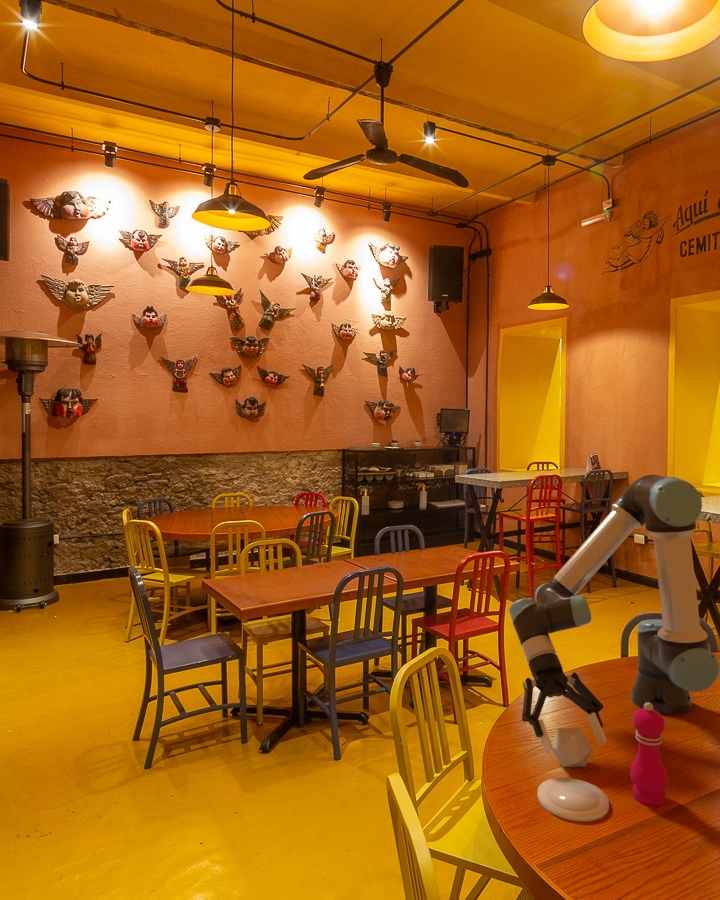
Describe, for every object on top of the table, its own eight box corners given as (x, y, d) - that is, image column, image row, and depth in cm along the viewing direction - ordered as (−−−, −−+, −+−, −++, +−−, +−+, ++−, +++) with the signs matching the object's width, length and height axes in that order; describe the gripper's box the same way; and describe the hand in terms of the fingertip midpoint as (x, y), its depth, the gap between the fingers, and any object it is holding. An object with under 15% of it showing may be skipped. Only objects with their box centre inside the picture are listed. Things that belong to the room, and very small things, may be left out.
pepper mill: (666, 811, 125) (665, 713, 125) (627, 800, 129) (626, 705, 129) (670, 793, 131) (669, 699, 131) (633, 784, 135) (632, 692, 135)
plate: (582, 778, 138) (582, 772, 138) (623, 815, 124) (623, 809, 124) (525, 787, 135) (525, 782, 135) (560, 826, 121) (560, 821, 121)
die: (586, 781, 138) (603, 739, 141) (551, 759, 139) (568, 718, 142) (574, 775, 146) (590, 736, 148) (540, 754, 147) (557, 716, 150)
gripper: (580, 660, 161) (617, 746, 147) (491, 670, 155) (520, 760, 141) (592, 646, 156) (632, 734, 141) (500, 656, 150) (532, 748, 136)
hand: (576, 747), depth 141 cm, fingers open, 13 cm apart
